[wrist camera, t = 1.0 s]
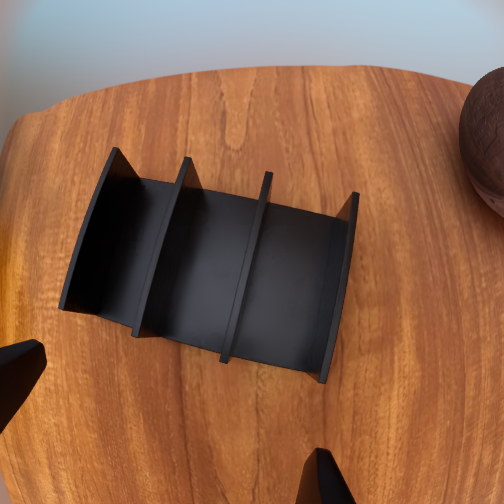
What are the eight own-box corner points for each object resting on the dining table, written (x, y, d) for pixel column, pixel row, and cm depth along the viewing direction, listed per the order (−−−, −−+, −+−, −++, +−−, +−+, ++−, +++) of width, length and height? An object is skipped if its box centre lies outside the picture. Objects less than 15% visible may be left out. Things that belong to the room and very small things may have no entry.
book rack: (339, 221, 25) (359, 193, 20) (309, 371, 22) (326, 384, 17) (137, 179, 26) (112, 146, 21) (95, 314, 23) (57, 308, 18)
